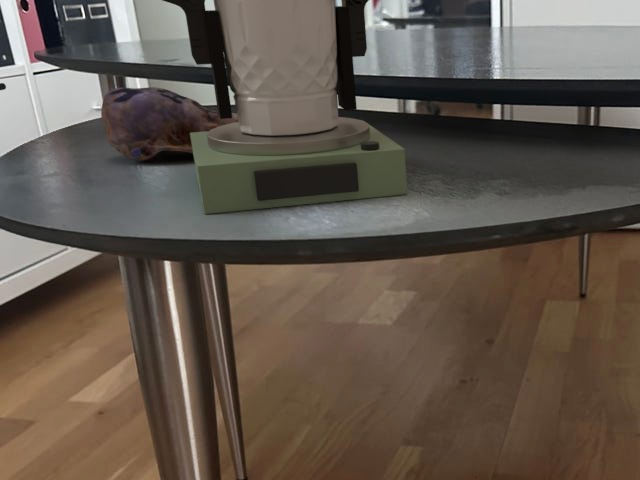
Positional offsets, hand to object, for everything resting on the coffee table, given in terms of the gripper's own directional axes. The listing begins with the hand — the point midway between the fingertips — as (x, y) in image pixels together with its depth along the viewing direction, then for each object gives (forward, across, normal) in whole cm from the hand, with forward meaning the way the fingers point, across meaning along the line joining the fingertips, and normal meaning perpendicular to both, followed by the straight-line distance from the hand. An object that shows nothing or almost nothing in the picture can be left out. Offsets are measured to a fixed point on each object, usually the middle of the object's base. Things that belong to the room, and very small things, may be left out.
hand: (287, 111), depth 58 cm
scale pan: (+2, 0, 0) cm, 2 cm away
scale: (+5, 0, 0) cm, 5 cm away
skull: (+5, -7, +14) cm, 16 cm away
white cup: (+1, 0, 0) cm, 1 cm away
